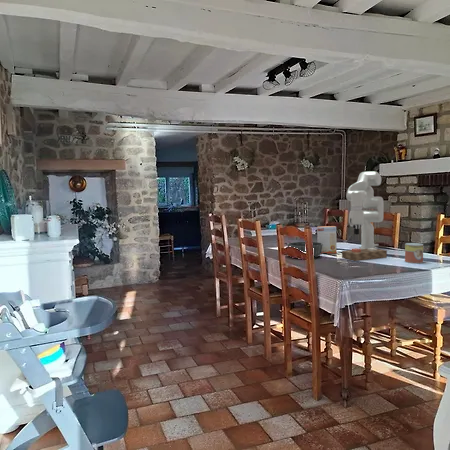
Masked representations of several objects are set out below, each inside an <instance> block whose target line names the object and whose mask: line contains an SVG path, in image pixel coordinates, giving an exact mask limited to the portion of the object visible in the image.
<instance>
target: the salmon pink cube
mask: <svg viewBox="0 0 450 450" xmlns="http://www.w3.org/2000/svg"><path fill="white" fill-rule="evenodd" d="M351 250H352V252H361V249H359V247H358V248H351Z"/></svg>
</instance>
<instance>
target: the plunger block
mask: <svg viewBox="0 0 450 450" xmlns="http://www.w3.org/2000/svg"><path fill="white" fill-rule="evenodd" d="M376 249H377V250H375V251H370V250H368V249H361V252H352V249H350V250H349V249H348V250H342V251H341V258H342V259H345V260H349V261H353V262H357V261H366V260H367V261H368V260H377V259H385V258H388V257H387V256H388V252H387V250H385V249H380V248H376Z"/></svg>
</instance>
